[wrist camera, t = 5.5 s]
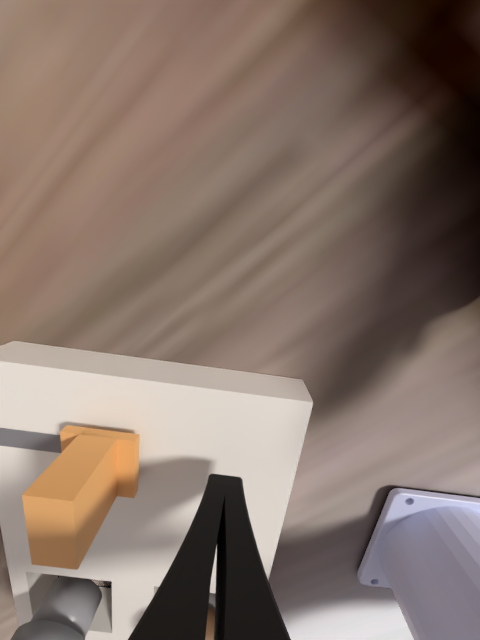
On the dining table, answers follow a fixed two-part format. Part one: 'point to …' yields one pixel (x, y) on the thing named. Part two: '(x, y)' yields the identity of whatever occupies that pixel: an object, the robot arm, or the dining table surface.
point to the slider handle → (78, 493)
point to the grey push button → (63, 611)
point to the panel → (143, 462)
